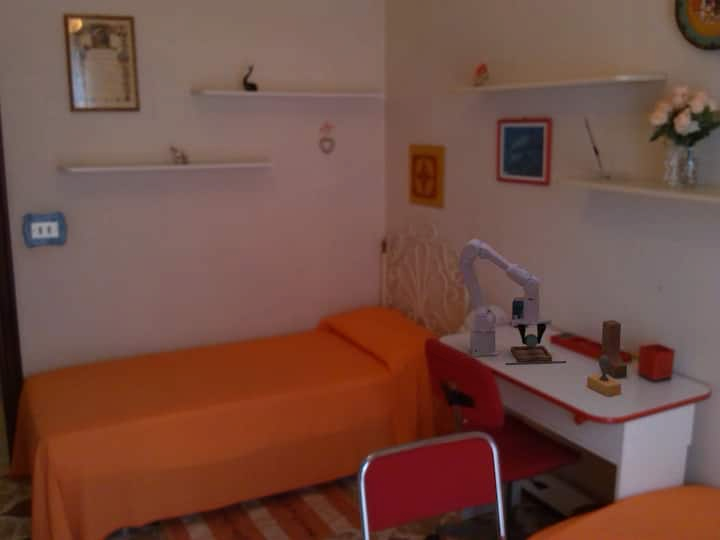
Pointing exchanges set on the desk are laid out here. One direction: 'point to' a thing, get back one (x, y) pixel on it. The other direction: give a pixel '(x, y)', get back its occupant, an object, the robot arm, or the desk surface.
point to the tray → (531, 354)
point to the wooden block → (613, 348)
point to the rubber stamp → (604, 380)
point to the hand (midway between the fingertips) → (531, 343)
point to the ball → (531, 340)
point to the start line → (536, 363)
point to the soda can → (518, 309)
